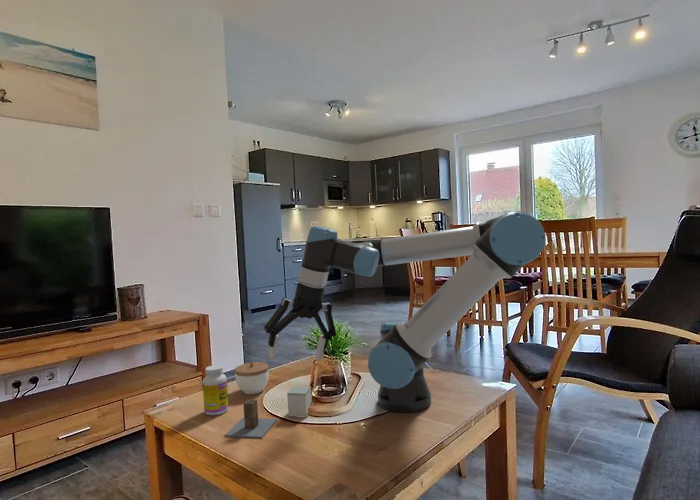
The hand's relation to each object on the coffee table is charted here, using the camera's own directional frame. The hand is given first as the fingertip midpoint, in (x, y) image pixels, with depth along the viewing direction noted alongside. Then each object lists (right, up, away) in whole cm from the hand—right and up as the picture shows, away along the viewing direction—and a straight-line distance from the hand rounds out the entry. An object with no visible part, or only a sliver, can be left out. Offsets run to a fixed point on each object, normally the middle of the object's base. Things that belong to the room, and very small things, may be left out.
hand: (295, 358), depth 117 cm
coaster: (-11, -17, -5) cm, 20 cm away
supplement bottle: (-23, -17, +7) cm, 30 cm away
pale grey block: (+1, -16, +2) cm, 16 cm away
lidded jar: (-16, -16, +21) cm, 31 cm away
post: (-11, -17, -5) cm, 20 cm away
